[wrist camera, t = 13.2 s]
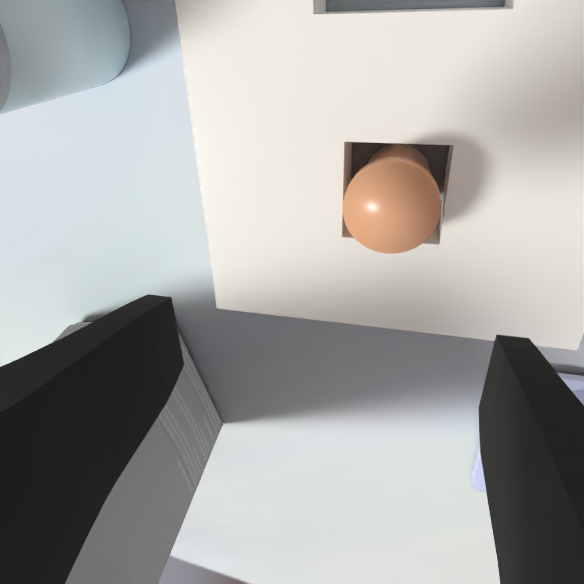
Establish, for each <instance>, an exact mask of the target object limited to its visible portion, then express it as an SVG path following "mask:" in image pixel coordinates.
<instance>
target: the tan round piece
mask: <svg viewBox="0 0 584 584" xmlns="http://www.w3.org/2000/svg"><path fill="white" fill-rule="evenodd" d="M342 208H343V217H344V221H345V224H346V226H347V228H348V230H349V232H350V233H351V235H352V236H353V237H354V238H355V239H356V240H357V241H358V242H359V243H360V244H362V245H363V246H365V247H367V248H368V249H371V250H373V251H376V252H380V253H386V254H395V253H402V252H406V251H409V250H412V249H414V248H416V247H418V246H419V245H421V244H422V243H424V242H425V241H426V240H427V239H428V238H429V237H430V236H431V234H432V233H433V232H434V230H435V228H436V226H437V224H438V221H439V218H440V212H441V199H440V192H439V188H438V185H437V183H436V181H435V179H434V178H433V176H432V175H431V169H430V165H429V163H428V160H427V159H426V157H425V156H424V155H423V154H422V153H421V152H420V151H419V150H418V149H416V148H414V147H413V146H410V145H406V144H391V145H387V146H385V147H383V148H381V149H379V150H378V151H377V152H375V153H374V154H373V155H372V156H371V158H370V159H369V161H368V163H367V165H365V166H364V167H363V168H361V169H360V170H359V171H358V172H357V173H356V174H355V176H354V177H353V178H352V180H351V182H350V184H349V186H348V188H347V191H346V193H345V196H344V200H343V207H342Z"/></svg>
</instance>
